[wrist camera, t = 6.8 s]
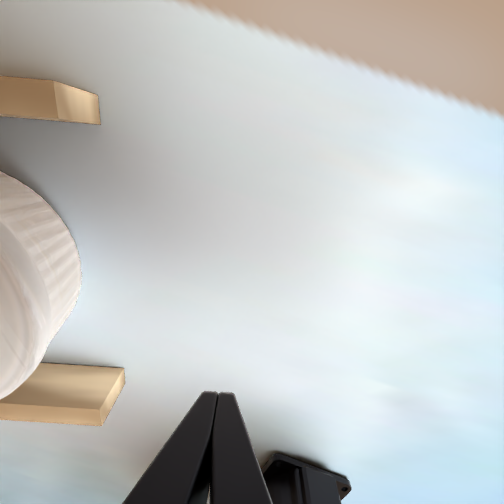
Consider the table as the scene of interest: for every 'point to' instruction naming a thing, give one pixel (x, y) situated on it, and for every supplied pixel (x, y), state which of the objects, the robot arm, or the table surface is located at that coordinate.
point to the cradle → (48, 374)
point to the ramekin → (32, 280)
